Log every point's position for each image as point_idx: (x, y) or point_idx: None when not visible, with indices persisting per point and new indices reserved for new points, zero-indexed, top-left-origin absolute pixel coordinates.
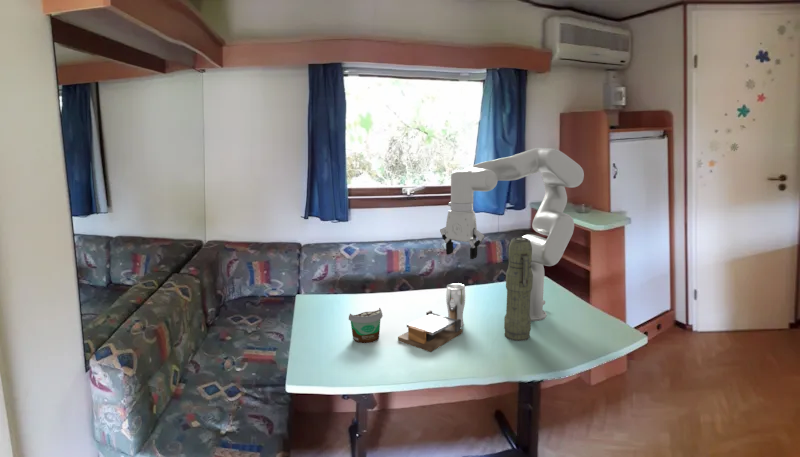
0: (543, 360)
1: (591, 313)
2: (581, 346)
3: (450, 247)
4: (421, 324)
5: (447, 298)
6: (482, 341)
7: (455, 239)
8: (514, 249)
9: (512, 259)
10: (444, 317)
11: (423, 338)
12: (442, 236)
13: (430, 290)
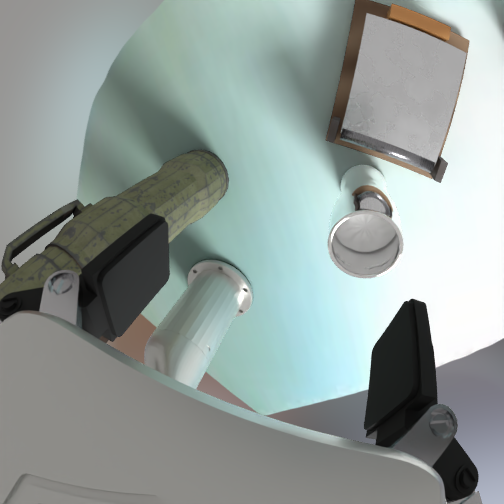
0: (126, 95)
1: (148, 311)
2: (106, 184)
3: (389, 373)
4: (428, 63)
5: (390, 200)
6: (259, 111)
7: (241, 423)
8: (6, 294)
9: (42, 270)
10: (383, 144)
11: (389, 10)
12: (474, 476)
13: (449, 358)
